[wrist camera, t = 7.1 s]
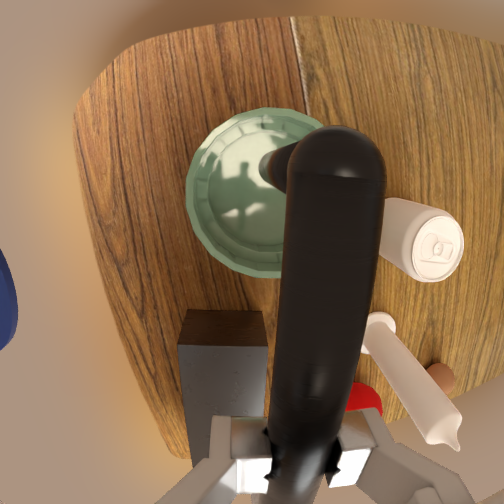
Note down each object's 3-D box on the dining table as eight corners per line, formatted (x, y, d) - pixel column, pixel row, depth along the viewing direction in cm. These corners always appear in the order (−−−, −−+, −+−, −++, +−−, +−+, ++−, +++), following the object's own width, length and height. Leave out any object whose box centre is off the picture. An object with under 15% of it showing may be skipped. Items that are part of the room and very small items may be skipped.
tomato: (371, 406, 49) (390, 444, 39) (314, 422, 49) (326, 464, 40) (370, 362, 46) (395, 401, 37) (307, 380, 46) (321, 424, 37)
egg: (416, 384, 49) (433, 407, 42) (420, 361, 47) (439, 384, 40) (439, 376, 49) (457, 397, 42) (444, 353, 47) (464, 374, 40)
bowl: (194, 258, 40) (186, 276, 34) (196, 116, 36) (187, 106, 29) (331, 260, 41) (348, 278, 35) (339, 123, 37) (360, 116, 30)
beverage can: (372, 189, 39) (421, 201, 27) (421, 205, 40) (474, 221, 28) (356, 249, 41) (398, 280, 29) (405, 260, 42) (453, 291, 30)
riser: (197, 431, 48) (193, 470, 40) (187, 309, 42) (176, 344, 33) (255, 431, 49) (258, 471, 40) (261, 310, 43) (268, 346, 34)
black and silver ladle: (290, 474, 21) (309, 585, 11) (216, 475, 21) (213, 590, 11) (334, 154, 15) (492, 151, 5) (211, 147, 15) (156, 109, 4)
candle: (386, 302, 44) (488, 411, 19) (398, 336, 45) (486, 444, 21) (345, 326, 44) (424, 455, 20) (360, 359, 46) (430, 482, 22)
